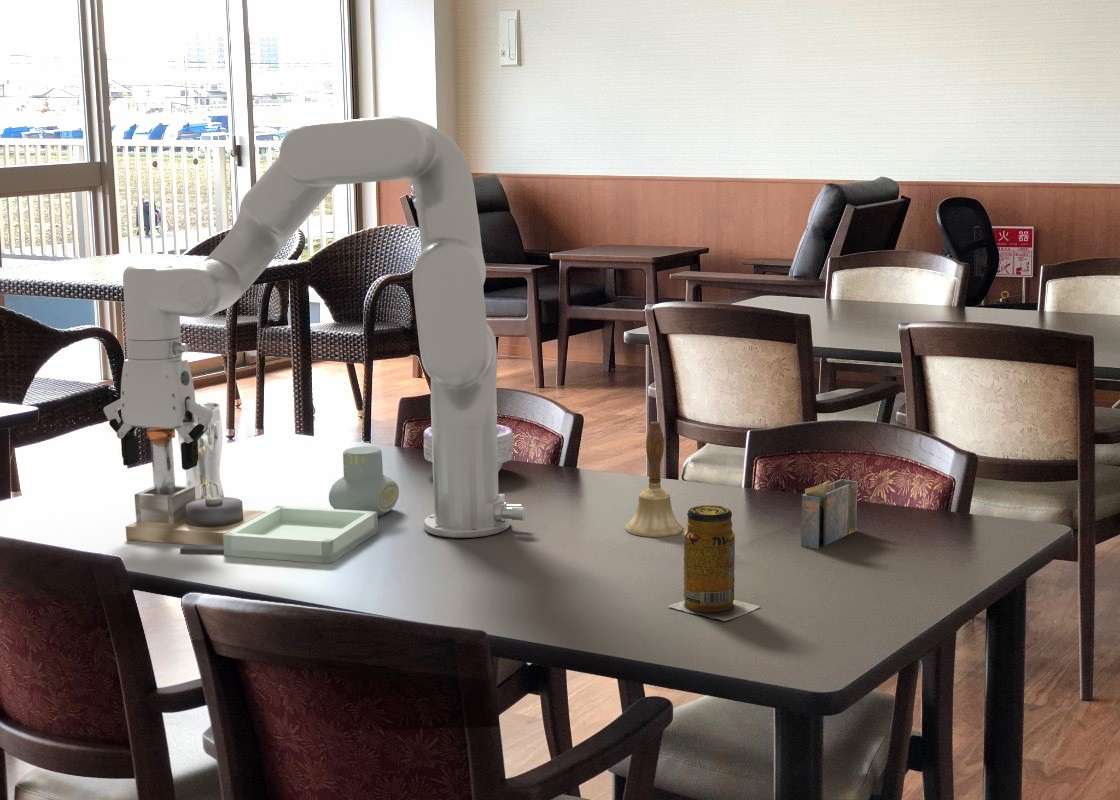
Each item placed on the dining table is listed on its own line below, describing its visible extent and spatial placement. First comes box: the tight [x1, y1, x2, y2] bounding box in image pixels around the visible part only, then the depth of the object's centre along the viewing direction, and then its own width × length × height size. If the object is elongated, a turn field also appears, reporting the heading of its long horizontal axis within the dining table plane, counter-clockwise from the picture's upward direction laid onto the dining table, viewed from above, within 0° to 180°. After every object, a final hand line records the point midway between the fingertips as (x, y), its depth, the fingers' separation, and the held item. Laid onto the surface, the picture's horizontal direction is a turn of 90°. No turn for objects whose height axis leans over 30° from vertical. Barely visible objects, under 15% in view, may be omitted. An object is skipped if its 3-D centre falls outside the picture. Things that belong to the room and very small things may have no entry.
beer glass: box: [177, 401, 225, 500], centre depth 218 cm, size 7×7×15 cm
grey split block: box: [800, 478, 858, 550], centre depth 189 cm, size 11×3×10 cm, turn 141°
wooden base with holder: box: [125, 485, 267, 545], centre depth 198 cm, size 16×12×6 cm
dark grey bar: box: [179, 544, 224, 555], centre depth 188 cm, size 14×2×1 cm, turn 84°
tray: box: [223, 505, 379, 564], centre depth 191 cm, size 16×16×3 cm
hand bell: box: [625, 420, 684, 538], centre depth 195 cm, size 8×8×16 cm
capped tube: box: [146, 428, 176, 495], centre depth 198 cm, size 4×4×13 cm
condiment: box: [667, 504, 761, 622], centre depth 161 cm, size 7×8×12 cm
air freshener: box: [328, 446, 400, 518], centre depth 206 cm, size 11×8×10 cm
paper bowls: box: [423, 423, 514, 473], centre depth 231 cm, size 15×15×8 cm
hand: (160, 465), depth 198 cm, fingers open, 9 cm apart
